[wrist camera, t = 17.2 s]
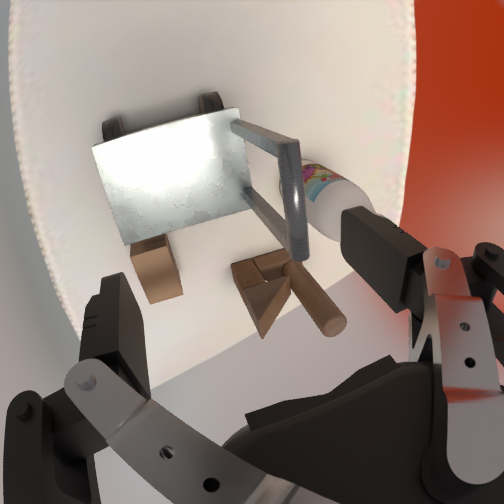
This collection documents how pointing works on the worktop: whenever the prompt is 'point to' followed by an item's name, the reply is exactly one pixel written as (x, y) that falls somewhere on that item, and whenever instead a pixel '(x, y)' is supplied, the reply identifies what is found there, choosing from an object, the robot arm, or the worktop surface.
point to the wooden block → (283, 292)
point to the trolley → (198, 175)
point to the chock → (156, 268)
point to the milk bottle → (329, 198)
